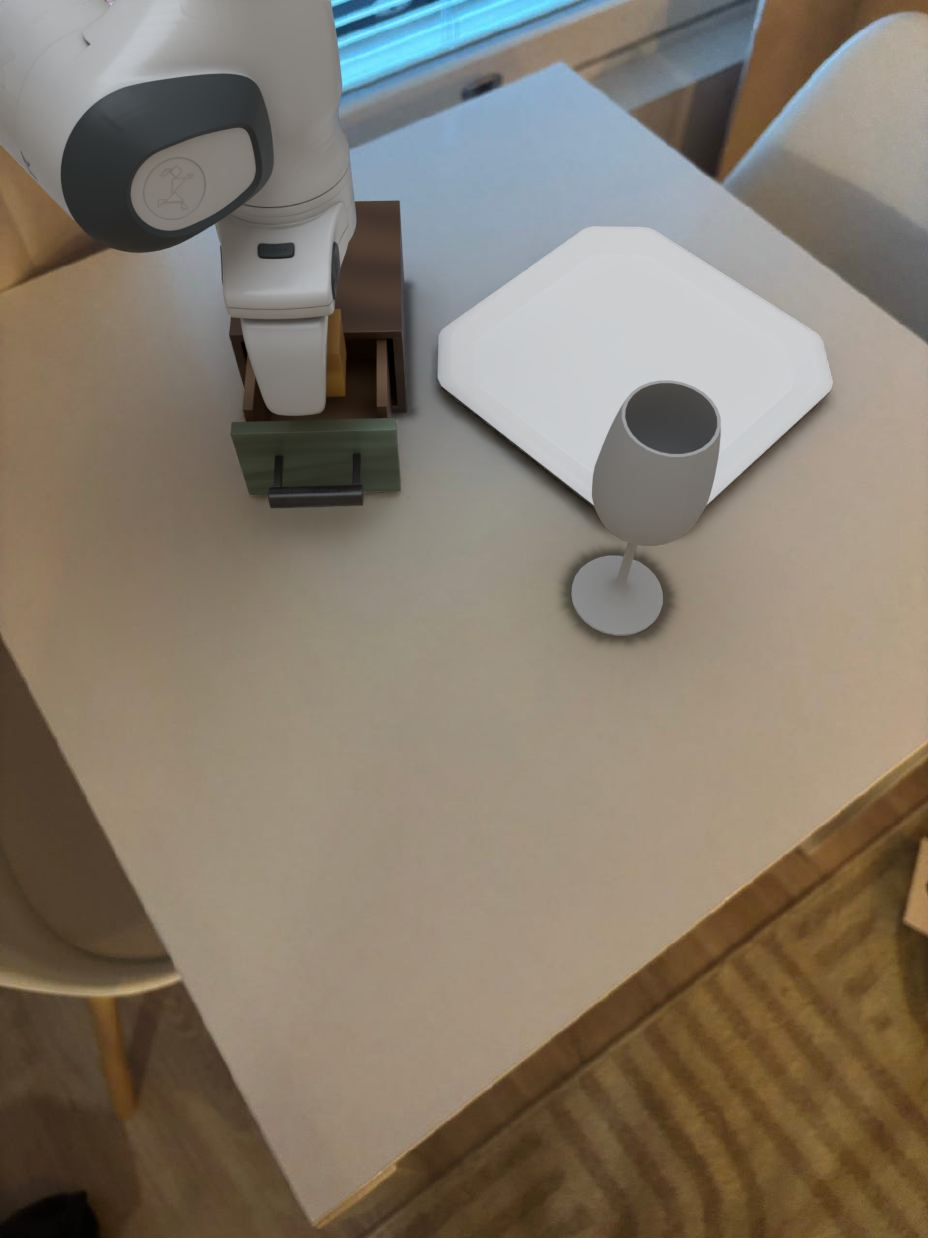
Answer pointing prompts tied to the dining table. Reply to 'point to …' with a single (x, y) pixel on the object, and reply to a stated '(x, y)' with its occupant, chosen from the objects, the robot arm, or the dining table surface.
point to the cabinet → (366, 291)
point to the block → (335, 356)
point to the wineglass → (647, 498)
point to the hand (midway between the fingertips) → (312, 360)
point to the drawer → (324, 439)
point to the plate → (628, 352)
